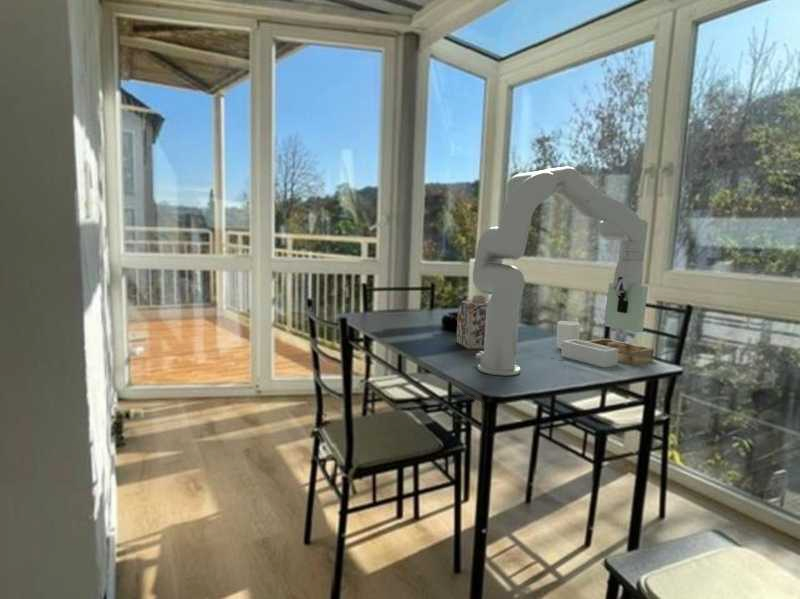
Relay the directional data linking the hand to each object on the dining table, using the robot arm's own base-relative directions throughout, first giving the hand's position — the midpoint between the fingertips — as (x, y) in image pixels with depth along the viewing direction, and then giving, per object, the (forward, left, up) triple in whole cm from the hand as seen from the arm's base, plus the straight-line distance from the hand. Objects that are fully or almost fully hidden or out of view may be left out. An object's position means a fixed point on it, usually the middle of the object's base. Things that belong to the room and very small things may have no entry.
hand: (625, 311), depth 178 cm
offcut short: (0, -3, -13) cm, 13 cm away
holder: (-2, -15, -16) cm, 22 cm away
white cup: (-17, -6, -16) cm, 24 cm away
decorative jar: (-38, -30, -16) cm, 51 cm away
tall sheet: (0, 0, -6) cm, 6 cm away
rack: (0, -2, -16) cm, 16 cm away
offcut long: (-1, -3, -15) cm, 15 cm away
